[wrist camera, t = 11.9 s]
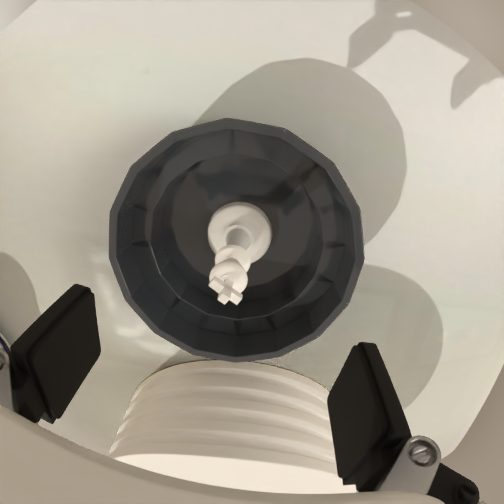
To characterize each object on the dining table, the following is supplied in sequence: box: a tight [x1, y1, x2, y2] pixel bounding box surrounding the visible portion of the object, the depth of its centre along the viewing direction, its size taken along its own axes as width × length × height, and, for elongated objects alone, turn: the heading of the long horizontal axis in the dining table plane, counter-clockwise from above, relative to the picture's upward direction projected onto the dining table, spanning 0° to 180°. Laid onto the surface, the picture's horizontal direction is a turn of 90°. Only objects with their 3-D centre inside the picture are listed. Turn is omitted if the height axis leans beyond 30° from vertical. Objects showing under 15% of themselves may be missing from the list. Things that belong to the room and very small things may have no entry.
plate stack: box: [108, 360, 357, 494], centre depth 28 cm, size 28×28×12 cm
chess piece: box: [208, 202, 272, 305], centre depth 18 cm, size 5×5×10 cm
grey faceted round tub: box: [109, 118, 365, 363], centre depth 21 cm, size 16×16×6 cm
